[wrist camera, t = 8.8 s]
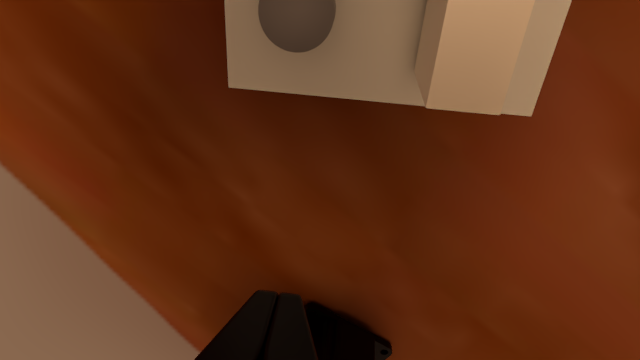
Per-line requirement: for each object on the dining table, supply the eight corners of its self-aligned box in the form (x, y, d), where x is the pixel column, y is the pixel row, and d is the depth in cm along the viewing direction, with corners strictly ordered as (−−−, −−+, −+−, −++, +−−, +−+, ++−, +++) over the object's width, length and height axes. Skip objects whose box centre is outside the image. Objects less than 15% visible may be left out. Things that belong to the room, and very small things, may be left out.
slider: (473, 77, 17) (499, 115, 14) (414, 71, 17) (425, 108, 14) (501, -33, 15) (541, -20, 12) (434, -39, 15) (453, -27, 12)
